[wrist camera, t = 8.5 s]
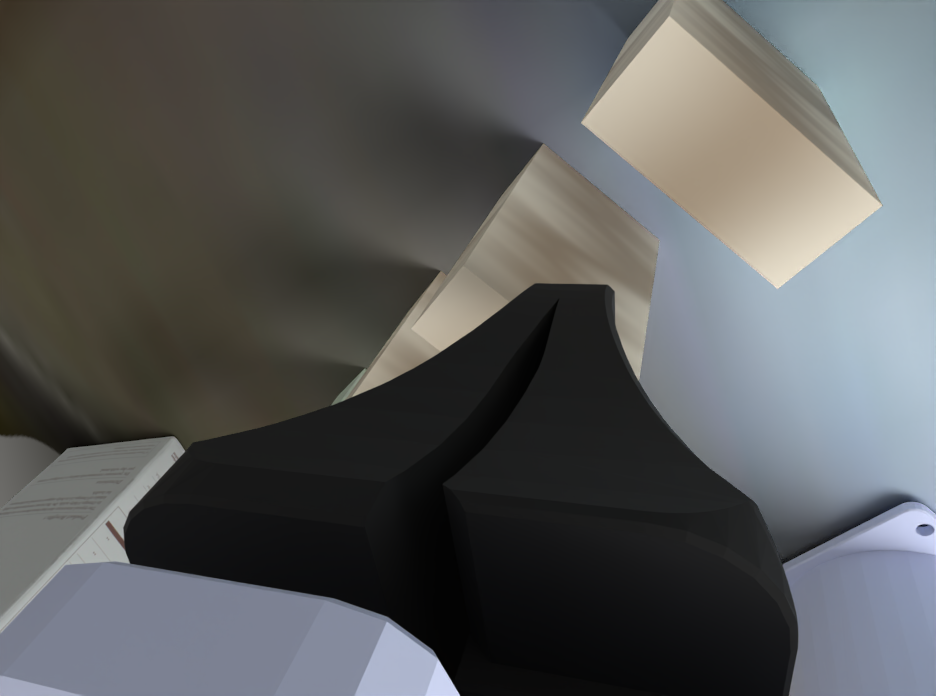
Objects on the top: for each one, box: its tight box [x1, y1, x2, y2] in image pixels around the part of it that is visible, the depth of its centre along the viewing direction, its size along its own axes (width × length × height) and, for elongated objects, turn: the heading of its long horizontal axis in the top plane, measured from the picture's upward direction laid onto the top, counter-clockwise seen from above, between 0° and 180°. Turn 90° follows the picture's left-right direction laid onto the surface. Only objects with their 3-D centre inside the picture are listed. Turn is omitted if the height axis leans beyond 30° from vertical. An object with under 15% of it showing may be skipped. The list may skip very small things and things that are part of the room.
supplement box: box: [0, 436, 185, 633], centre depth 30 cm, size 7×7×13 cm
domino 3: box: [581, 0, 883, 289], centre depth 14 cm, size 4×2×8 cm, turn 55°
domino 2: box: [411, 144, 660, 381], centre depth 18 cm, size 4×2×8 cm, turn 55°
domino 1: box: [346, 271, 447, 399], centre depth 21 cm, size 4×2×8 cm, turn 55°
